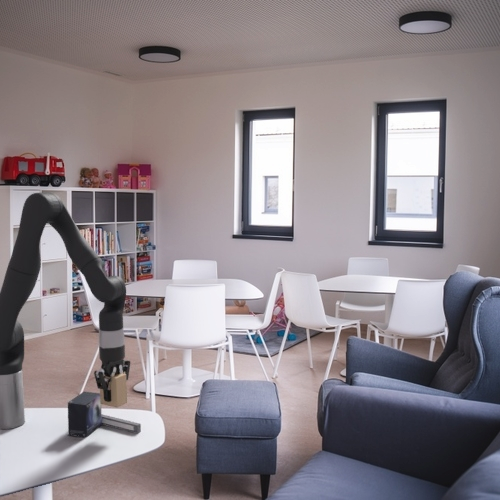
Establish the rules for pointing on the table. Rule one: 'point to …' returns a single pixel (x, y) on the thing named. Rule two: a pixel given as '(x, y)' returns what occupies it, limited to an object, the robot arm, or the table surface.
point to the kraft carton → (116, 391)
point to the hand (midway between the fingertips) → (113, 398)
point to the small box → (84, 414)
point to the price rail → (121, 424)
